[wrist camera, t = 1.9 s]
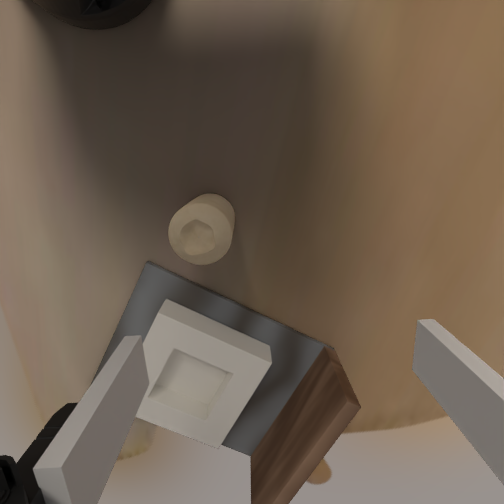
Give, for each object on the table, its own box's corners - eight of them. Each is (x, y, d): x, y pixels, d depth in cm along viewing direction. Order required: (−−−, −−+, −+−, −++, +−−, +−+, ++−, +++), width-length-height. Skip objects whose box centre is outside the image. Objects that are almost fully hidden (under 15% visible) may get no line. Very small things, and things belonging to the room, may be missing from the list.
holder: (122, 386, 40) (111, 407, 37) (166, 298, 37) (158, 312, 34) (220, 426, 42) (218, 449, 39) (269, 345, 39) (272, 363, 36)
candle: (245, 211, 35) (244, 230, 25) (218, 250, 36) (208, 282, 27) (203, 182, 34) (186, 191, 24) (177, 224, 35) (151, 247, 26)
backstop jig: (89, 388, 41) (42, 457, 32) (148, 260, 36) (112, 296, 27) (260, 456, 45) (264, 536, 35) (333, 348, 40) (361, 407, 31)
